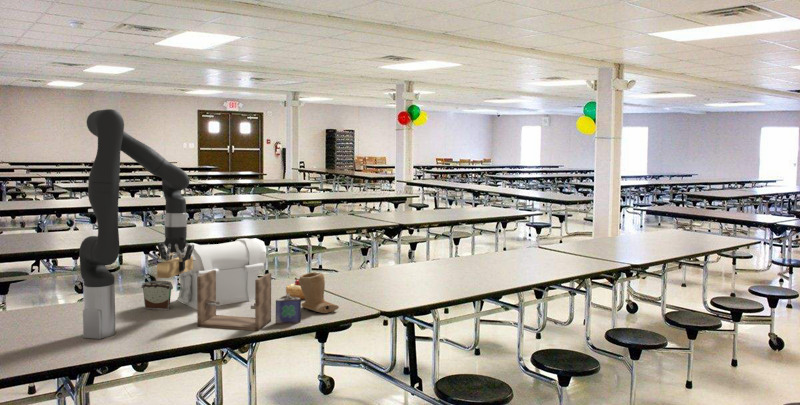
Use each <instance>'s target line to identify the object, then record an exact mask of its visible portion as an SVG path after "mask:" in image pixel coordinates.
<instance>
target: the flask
mask: <svg viewBox="0 0 800 405" xmlns="http://www.w3.org/2000/svg"><path fill="white" fill-rule="evenodd" d="M285 295H286V298H277V299H276V300H275V324H276V325H288V324H299V323H301V322H302V319H301V318H302V317H301V316H302V310H301V309H302V299H300V298H297V297H295V298H294V297H291V296H290V294H285Z"/></svg>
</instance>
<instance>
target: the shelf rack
mask: <svg viewBox="0 0 800 405" xmlns="http://www.w3.org/2000/svg"><path fill="white" fill-rule="evenodd" d="M254 301H255V303H254V304H253V305H252V304H251V305H250V309H251V310H254V311H255V312H254V314H255V316H254V317H249V316H239V315H238V316H234V315H223V314H222V315H220V314H217V306H216V304H220V301H216V270H212V271H209V272H207V273H205V274H202V275H200V276H197V316H196V317H197V321H196V322H197V327H201V328H211V329H215V328H216V329H227V330H228V329H231V330H243V331H253V332H254V331H255V332H256V331H257V332H258V331H260V330H262V329H263V328H265V326H267V325H268V324H270V323H271V322H272V273H271V272H270V273H269V272H267V273H266V274H264V275H262V276H260V277H258V279H256V280H255V300H254Z"/></svg>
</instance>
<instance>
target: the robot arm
mask: <svg viewBox="0 0 800 405" xmlns="http://www.w3.org/2000/svg"><path fill="white" fill-rule="evenodd" d="M86 127H87V129H88V131H89V132H90V133H91V134H92V135H94V136H95V137H97V150H96V154H95V155H96V156H95V158H94V160H93V164H92V167H91V168H90V172H89V176H88V186H87V187H88V190H87V196H88V201H89V204H90V207H91V208H92V211H93V214H94V215H95V218H96V221H97V235H90V236H87V237H86V238H84V239H83V240H82V242H81V243H80V247H79V256H78V257H79V267H80V268H79V269H80V276H81V279H82V280H83V302H84V309H83V310H82V329H83V330H82V331H83V332H82V333H83V334H82V336H83V337H82V338H84V339H96V340H97V339H98V340H100V339H103V338H108V337H109V338H110V337H113V336H114V335H116V291H115V290H116V288H115V282H116V280H115V275H114V274H113V273H112V272H110V271H109V270H108V268H107V267H106V266H111V265H113V264H115V262H116V261H117V260H118V258H119V255H120V254H119V253H120V235H119V234H120V233H119V232H120V231H119V198H120V174H121V173H120V172H121V171H120V169H121V152H122V153H123V154H125V155H127V156H128V157H129V158H131V159H132V160H133V161H134V162H136V163H137V164H138V165H140V167H141V166H142V168H144V169H145V170H146V171H148V172H149V174H150V173H151V175H153V176H154V177H155V176H156V177H159V178H161V186H162V192H163V196H164V199H165V215H164V238H165V239H164V241H163V242H159V243H157V244H156V246H157V249H158V253H159V255H160V258H161V260H165V261H168V260H171V259H172V257H173V255H175V254H174V252H176V253H177V255H178V256H179V260H180V262H179V272H183V271H184V270H185V261H186V260H189V259H190V258H191V255H192V252H193V249H194V245H193V244H192V245H191V244H188V240H187V237H188V236H187V234H188V233H187V230H188V226H187V224H188V220H187V202H186V198H185V197H184V196H183V195H182V192H181V191H182V190H183V191H184V190H185V189H187V188H188V187H189V185H190V177H189V175H188V173H187V172H186V171H184V170H183V169H182V168H180V167H179V166H177V165H175V164H174V163H172V162H170V161H168V160H167V159H166V158H165V157H163V156H162V155H161V154H160V153H159V152H157V151H156V150H155V149H153V148H152V147H151V146H149V145H147V144H145V142H142V141H140V140H138V139H136V138H134V137H133V136H132V135H130V134H129V133H127V132H126V131H125V122H124V117H123V116H122V114H120V112H119V111H117V110H114V109H109V108H108V109H99V110H95V111H93V112H91V113H90V114H89V115H88V116H87V118H86ZM185 247H186V249H187V251H186V254H185V250H184V248H185Z"/></svg>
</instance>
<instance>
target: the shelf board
mask: <svg viewBox="0 0 800 405" xmlns="http://www.w3.org/2000/svg"><path fill="white" fill-rule="evenodd" d="M179 262H180V260H179V257H178V258H174V259H171V260H168V261H166V260H165V261H161V262H158V263H156V264H157V265H156V266H157V267H156V268H157V269H156V270H157V271H156V275H157V276H156V277H157V278H159V279H160V278H161V279H169V278H172V277H175V276H178V275H179V274H181V273H184V272H187V271H189V270H192V269H193V256H191V258H190V259H189V260H186V261H185V270H184V271H183V272H179Z"/></svg>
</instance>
